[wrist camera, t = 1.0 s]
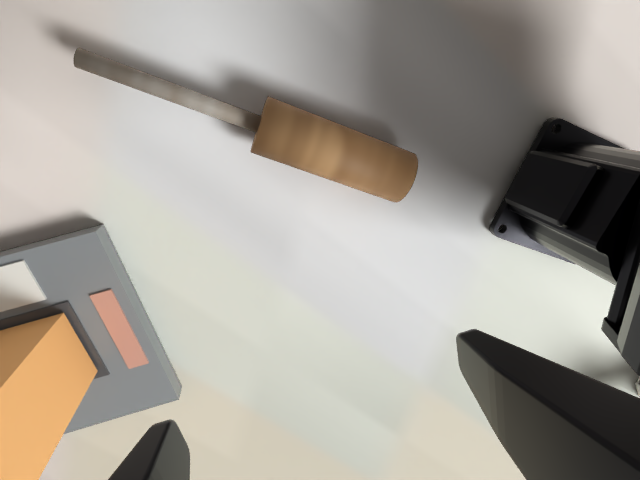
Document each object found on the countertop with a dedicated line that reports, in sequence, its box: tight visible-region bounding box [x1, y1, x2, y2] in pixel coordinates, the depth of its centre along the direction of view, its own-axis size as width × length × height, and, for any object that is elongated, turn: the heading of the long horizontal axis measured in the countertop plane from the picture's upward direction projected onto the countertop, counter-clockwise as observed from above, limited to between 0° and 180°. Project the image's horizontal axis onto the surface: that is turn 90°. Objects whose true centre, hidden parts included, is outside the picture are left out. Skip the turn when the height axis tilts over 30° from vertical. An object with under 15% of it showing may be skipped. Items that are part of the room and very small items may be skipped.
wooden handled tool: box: [74, 48, 418, 202], centre depth 16 cm, size 14×2×2 cm, turn 69°
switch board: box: [0, 224, 182, 434], centre depth 19 cm, size 14×10×1 cm
